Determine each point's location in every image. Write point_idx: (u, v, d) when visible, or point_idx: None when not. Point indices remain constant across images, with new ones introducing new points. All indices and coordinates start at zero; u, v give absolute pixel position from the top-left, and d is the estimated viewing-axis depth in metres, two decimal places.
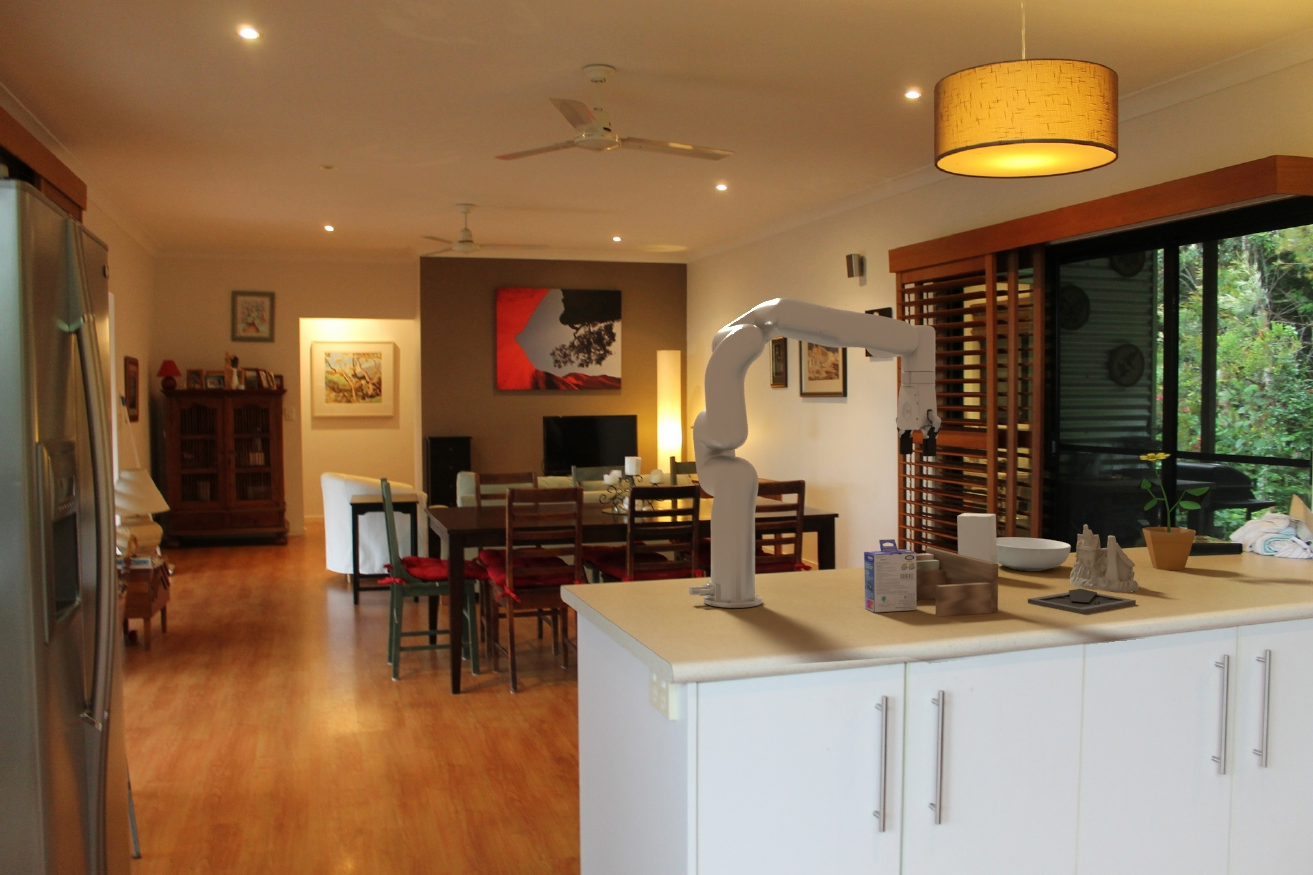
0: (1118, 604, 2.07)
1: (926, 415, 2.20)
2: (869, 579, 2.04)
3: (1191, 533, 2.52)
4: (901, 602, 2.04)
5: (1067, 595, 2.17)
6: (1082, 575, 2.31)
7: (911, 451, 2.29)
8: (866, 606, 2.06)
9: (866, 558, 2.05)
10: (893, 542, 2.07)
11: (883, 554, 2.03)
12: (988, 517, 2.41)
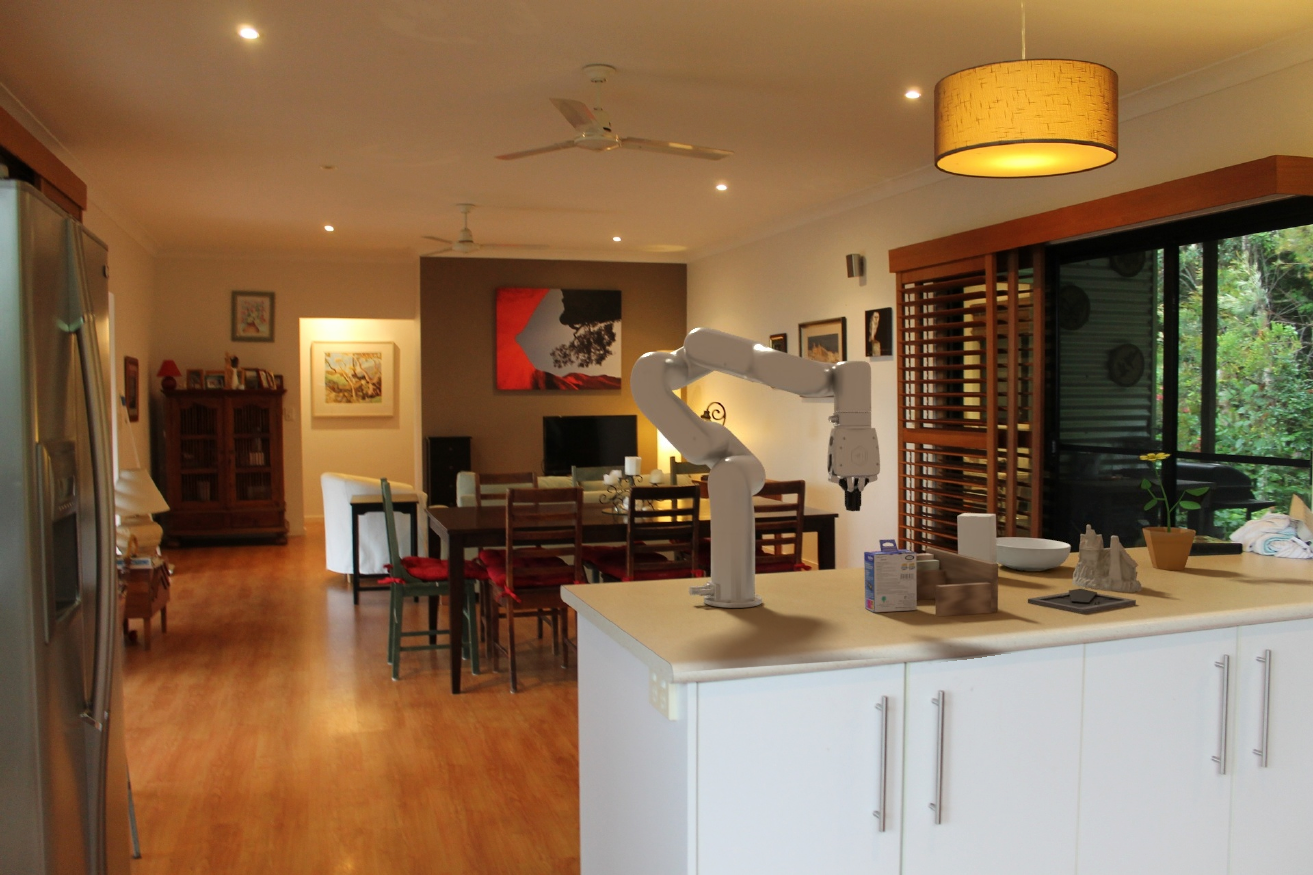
0: (1118, 604, 2.07)
1: None
2: (869, 579, 2.04)
3: (1191, 533, 2.52)
4: (901, 602, 2.04)
5: (1067, 595, 2.17)
6: (1085, 575, 2.31)
7: None
8: (866, 606, 2.06)
9: (867, 558, 2.05)
10: (893, 542, 2.07)
11: (883, 554, 2.03)
12: (988, 517, 2.41)
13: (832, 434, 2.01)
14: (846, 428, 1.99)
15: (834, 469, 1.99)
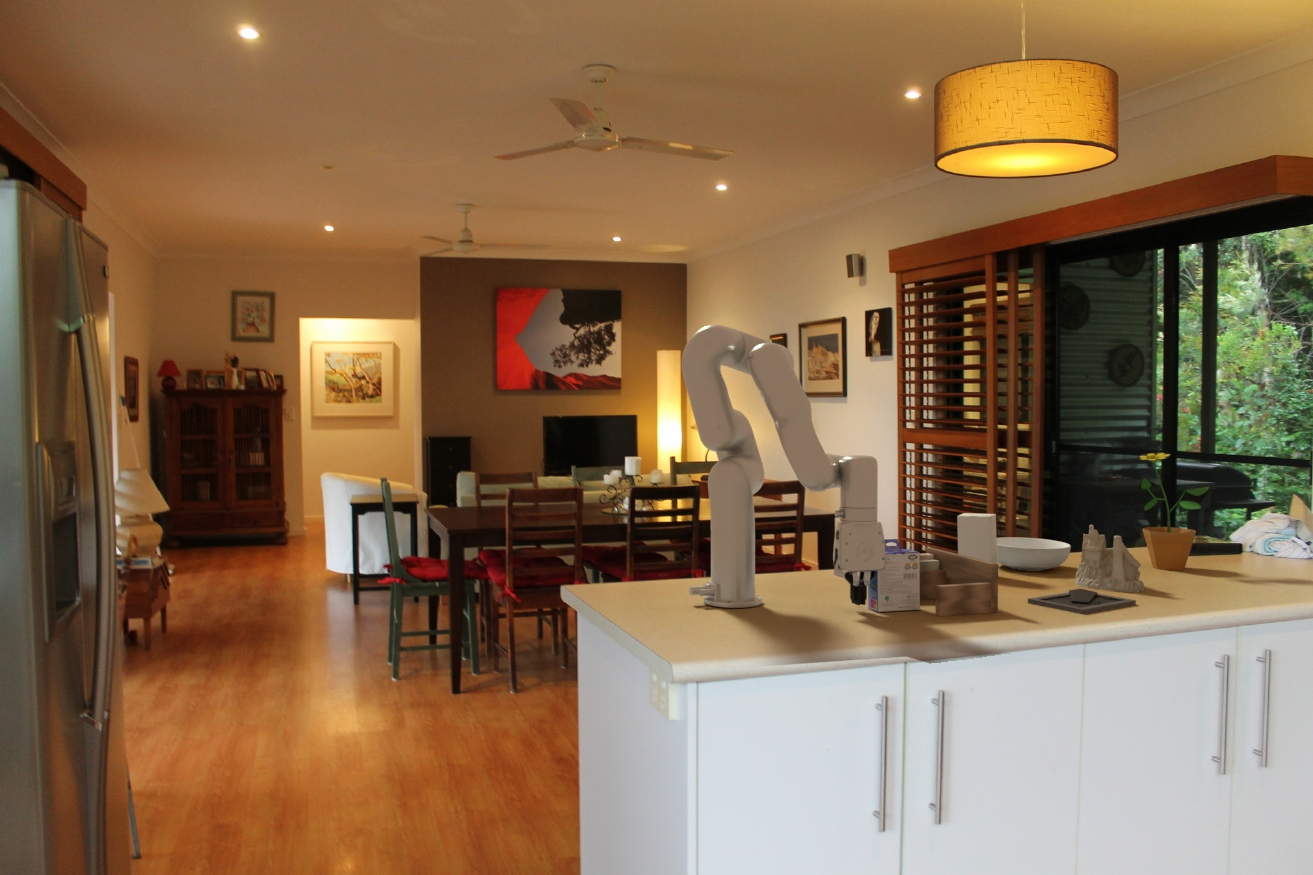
0: (1118, 604, 2.07)
1: None
2: (872, 579, 2.05)
3: (1191, 533, 2.52)
4: (904, 602, 2.04)
5: (1067, 595, 2.17)
6: (1088, 575, 2.31)
7: None
8: (869, 606, 2.06)
9: None
10: (896, 542, 2.07)
11: (886, 554, 2.03)
12: (988, 517, 2.41)
13: (838, 528, 2.02)
14: (852, 523, 2.00)
15: (840, 564, 2.00)
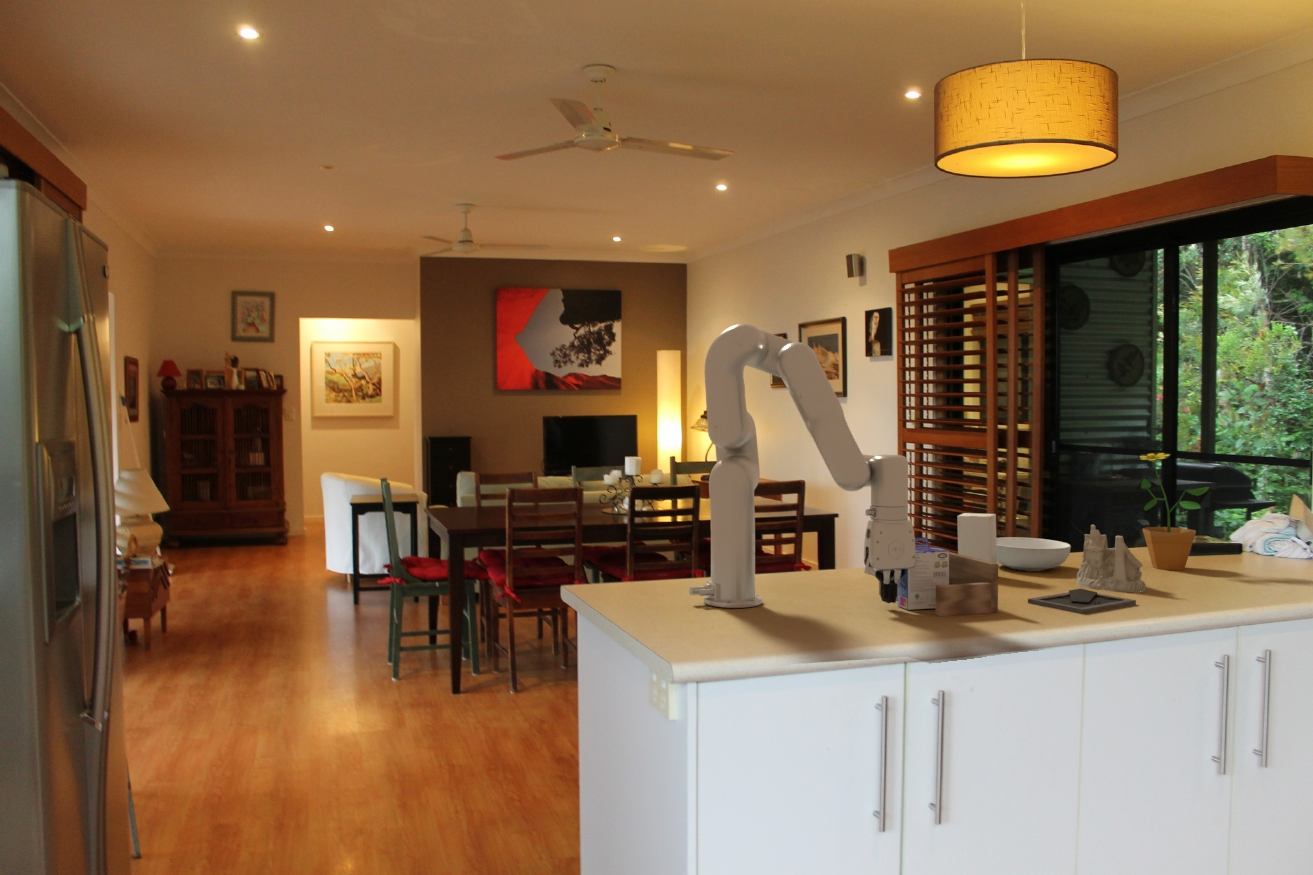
0: (1118, 604, 2.07)
1: None
2: (902, 577, 2.07)
3: (1191, 533, 2.52)
4: (934, 600, 2.06)
5: (1067, 595, 2.17)
6: (1089, 575, 2.31)
7: None
8: (899, 604, 2.08)
9: None
10: (926, 540, 2.09)
11: (916, 553, 2.05)
12: (988, 517, 2.41)
13: (869, 527, 2.04)
14: (883, 522, 2.02)
15: (871, 562, 2.02)
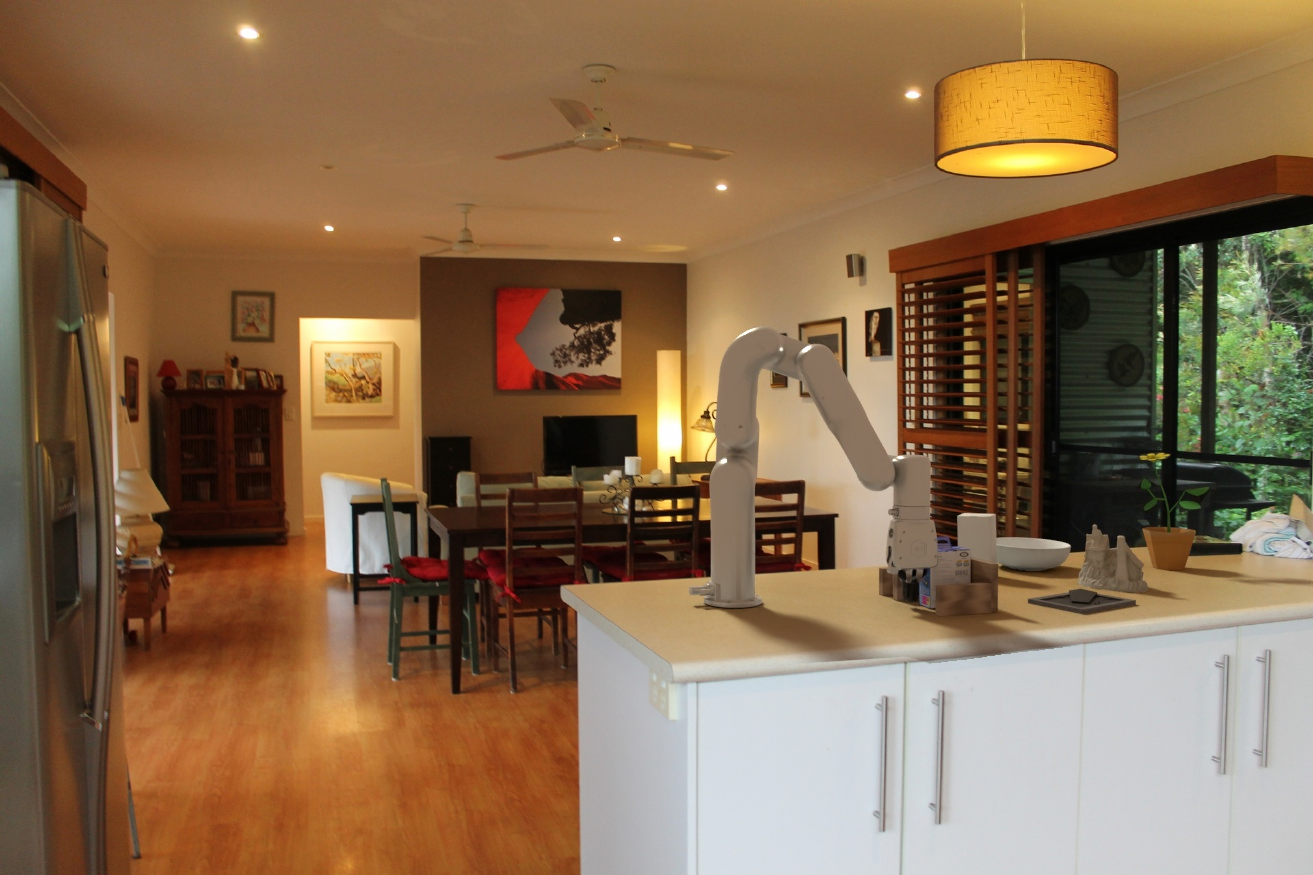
0: (1118, 604, 2.07)
1: None
2: (924, 576, 2.08)
3: (1191, 533, 2.52)
4: None
5: (1067, 595, 2.17)
6: (1091, 575, 2.31)
7: None
8: (921, 602, 2.10)
9: None
10: (947, 539, 2.11)
11: (938, 551, 2.07)
12: (988, 517, 2.41)
13: (891, 526, 2.06)
14: (906, 522, 2.04)
15: (894, 561, 2.04)
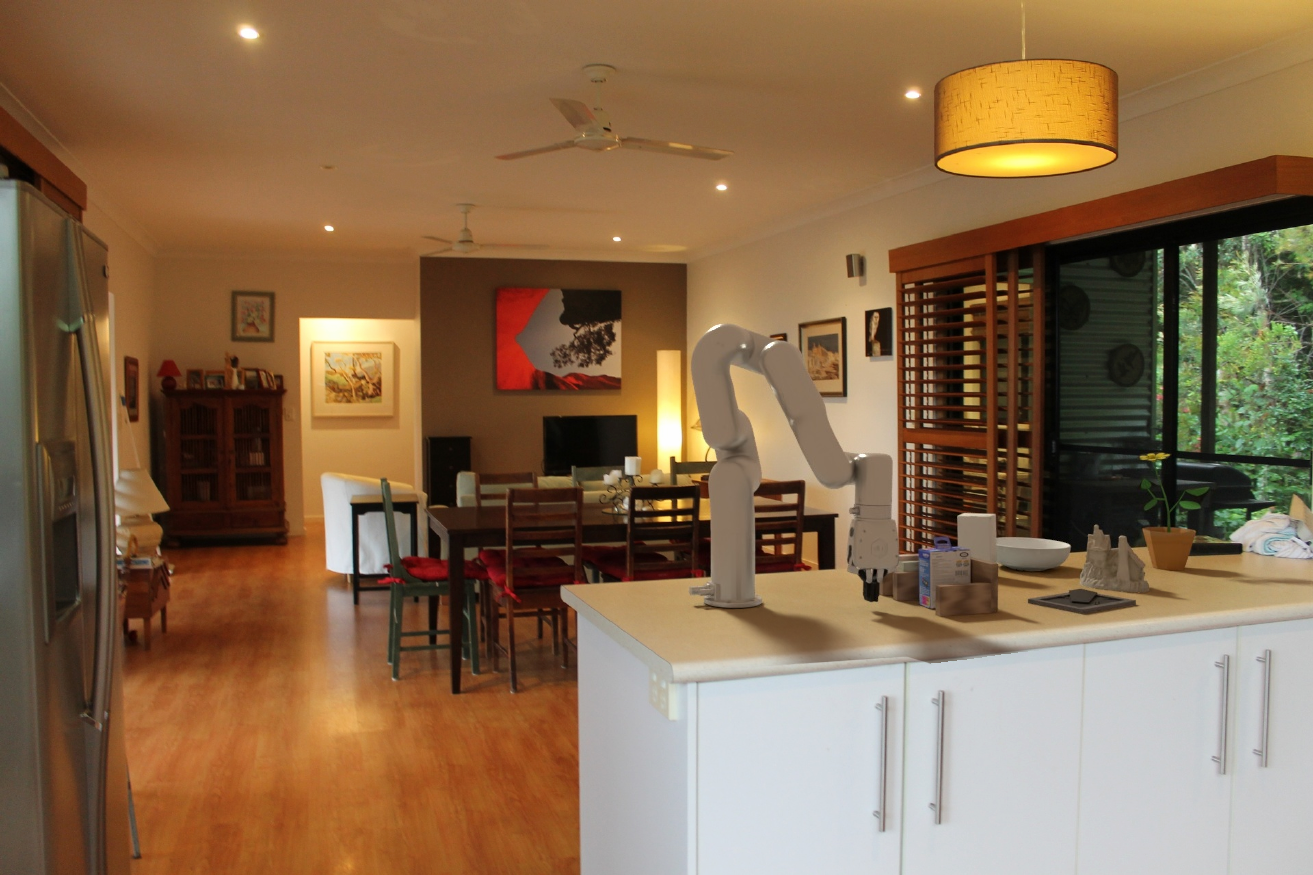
0: (1118, 604, 2.07)
1: None
2: (924, 576, 2.08)
3: (1191, 533, 2.52)
4: None
5: (1067, 595, 2.17)
6: (1093, 575, 2.31)
7: None
8: (921, 602, 2.10)
9: (922, 555, 2.09)
10: (947, 539, 2.11)
11: (938, 552, 2.06)
12: (988, 517, 2.41)
13: (852, 525, 2.03)
14: (867, 521, 2.01)
15: (854, 561, 2.02)
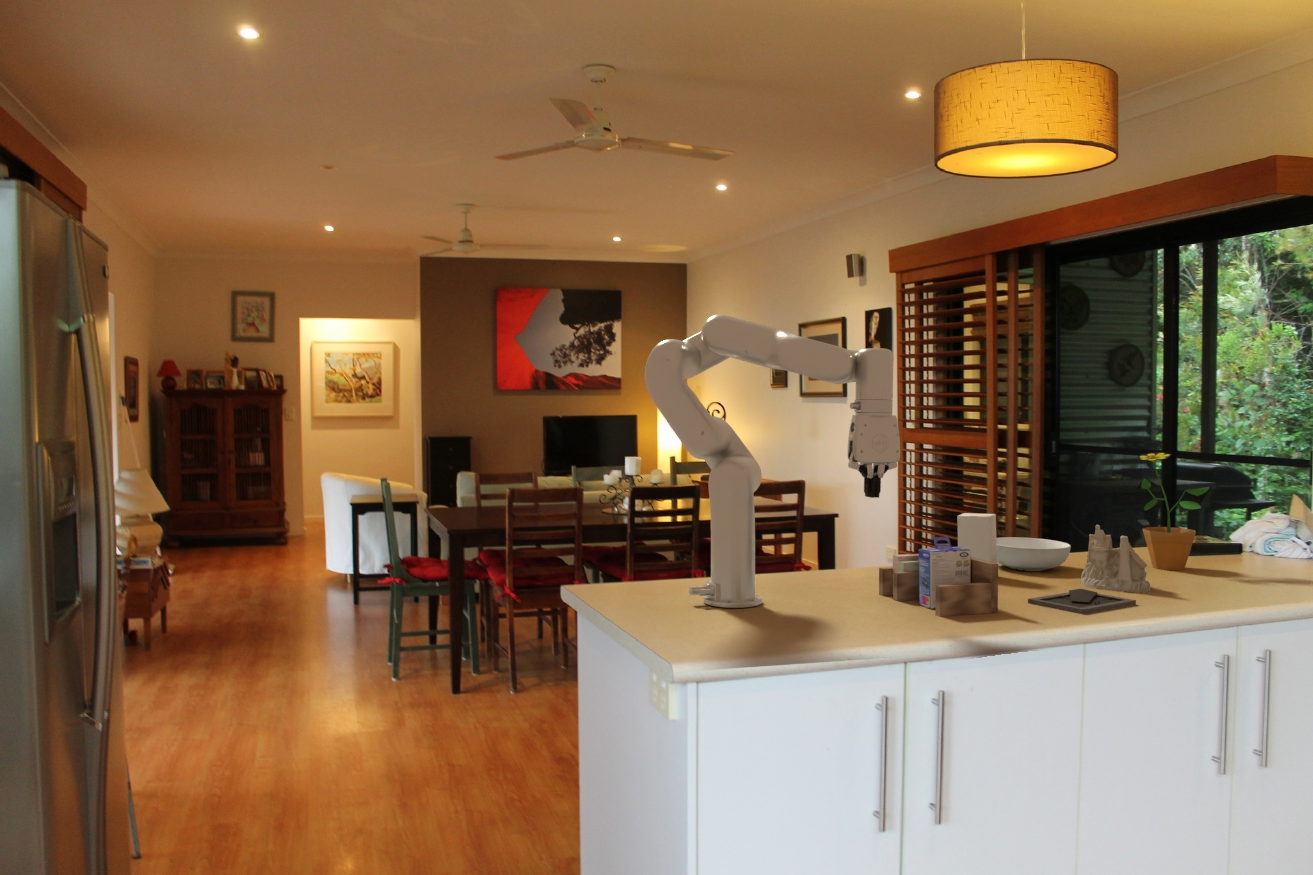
0: (1118, 604, 2.07)
1: None
2: (924, 576, 2.08)
3: (1191, 533, 2.52)
4: None
5: (1067, 595, 2.17)
6: (1094, 575, 2.31)
7: None
8: (921, 602, 2.10)
9: (922, 555, 2.09)
10: (947, 539, 2.11)
11: (938, 552, 2.07)
12: (988, 517, 2.41)
13: (853, 420, 2.02)
14: (867, 415, 2.00)
15: (855, 455, 2.01)
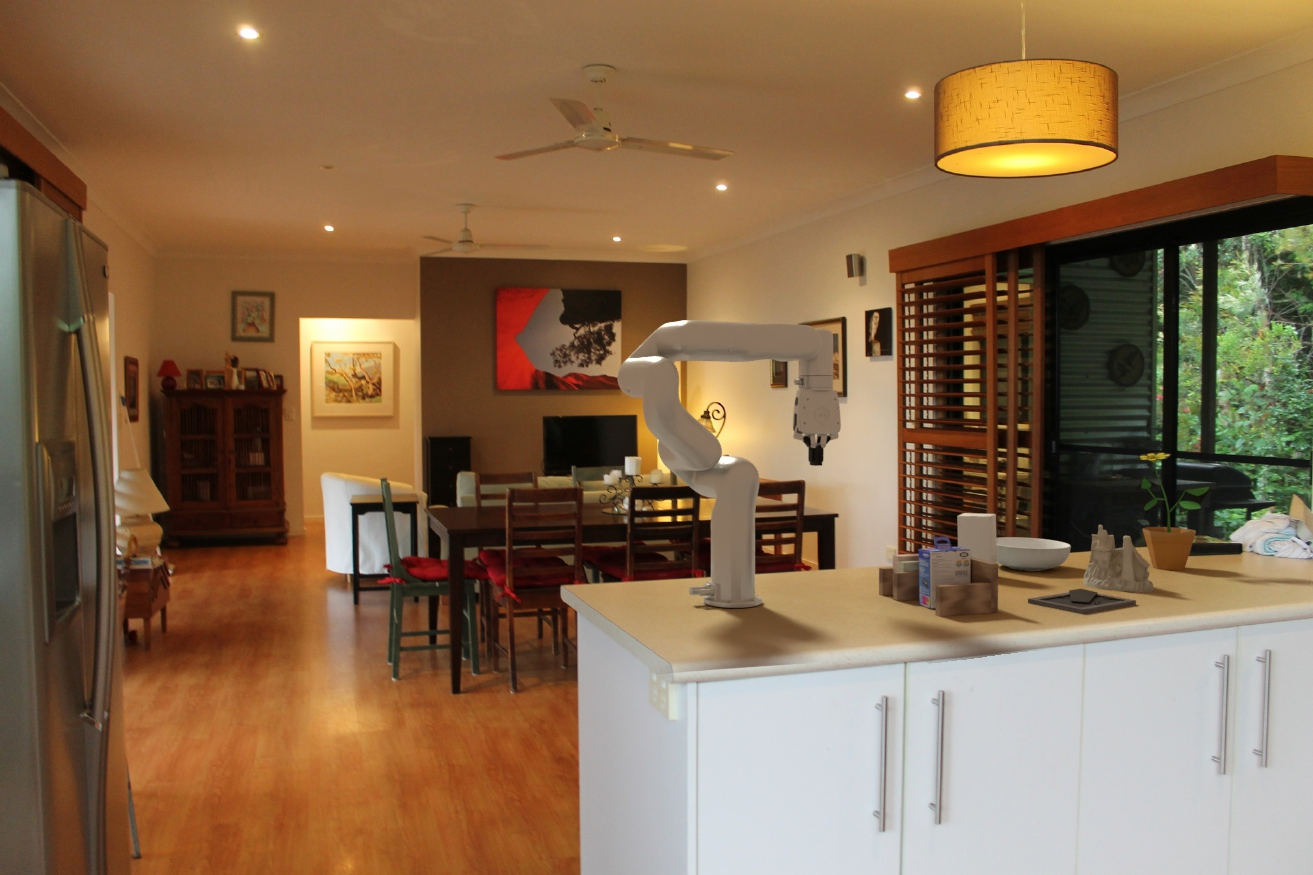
0: (1118, 604, 2.07)
1: None
2: (924, 576, 2.08)
3: (1191, 533, 2.52)
4: None
5: (1067, 595, 2.17)
6: (1097, 576, 2.30)
7: None
8: (921, 602, 2.10)
9: (922, 555, 2.09)
10: (947, 539, 2.11)
11: (938, 552, 2.07)
12: (988, 517, 2.41)
13: (797, 395, 2.21)
14: (810, 390, 2.19)
15: (798, 427, 2.20)
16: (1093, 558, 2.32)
